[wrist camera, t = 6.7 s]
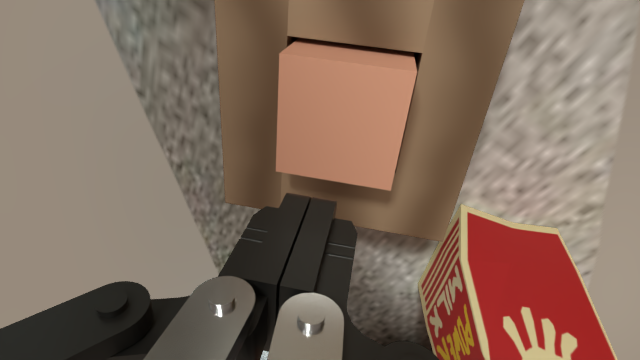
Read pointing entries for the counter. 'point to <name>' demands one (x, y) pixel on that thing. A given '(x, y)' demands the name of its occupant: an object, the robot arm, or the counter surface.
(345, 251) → the robot arm
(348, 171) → the salmon pink block
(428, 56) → the block
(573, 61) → the counter surface
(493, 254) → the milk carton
